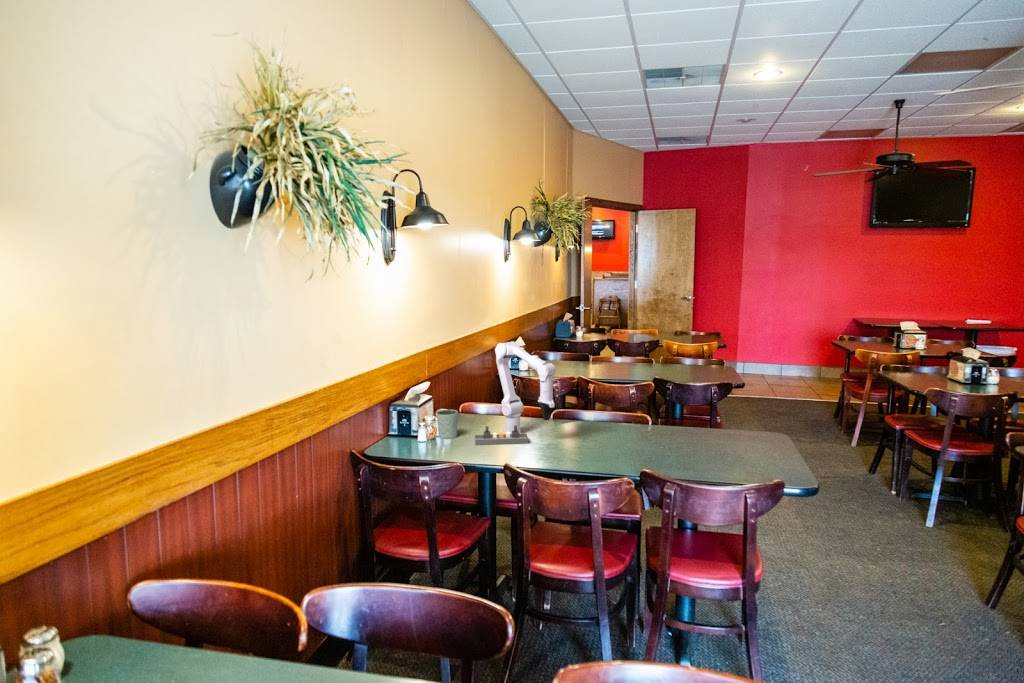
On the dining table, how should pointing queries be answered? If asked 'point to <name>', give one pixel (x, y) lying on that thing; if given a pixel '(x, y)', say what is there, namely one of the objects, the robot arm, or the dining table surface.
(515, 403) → the robot arm
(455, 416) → the gray cup
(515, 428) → the cord plug
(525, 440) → the strip
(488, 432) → the cord plug
